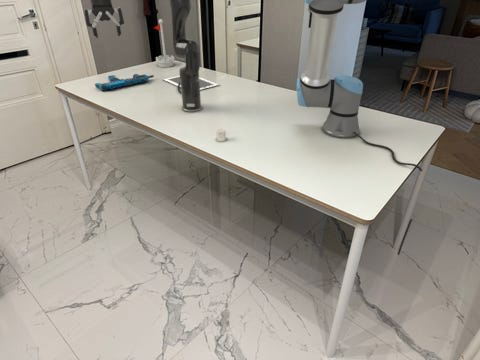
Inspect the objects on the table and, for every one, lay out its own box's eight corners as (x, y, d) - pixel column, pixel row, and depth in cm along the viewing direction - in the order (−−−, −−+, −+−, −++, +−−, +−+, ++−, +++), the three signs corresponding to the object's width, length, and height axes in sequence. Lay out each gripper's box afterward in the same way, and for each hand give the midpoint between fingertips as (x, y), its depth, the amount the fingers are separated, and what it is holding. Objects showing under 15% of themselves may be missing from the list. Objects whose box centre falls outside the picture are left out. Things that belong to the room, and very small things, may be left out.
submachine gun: (139, 68, 225) (158, 74, 208) (140, 74, 226) (158, 80, 210) (87, 78, 206) (103, 86, 189) (89, 84, 208) (104, 92, 191)
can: (223, 142, 141) (223, 132, 139) (215, 140, 142) (215, 131, 140) (227, 138, 144) (226, 129, 142) (218, 137, 145) (218, 128, 143)
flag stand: (173, 62, 250) (168, 17, 234) (176, 66, 240) (172, 20, 223) (155, 63, 246) (149, 18, 230) (158, 68, 236) (152, 21, 219)
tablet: (162, 79, 213) (162, 79, 213) (189, 73, 224) (189, 73, 224) (191, 92, 193) (191, 91, 192) (219, 85, 204) (219, 84, 203)
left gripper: (79, -7, 125) (90, 39, 133) (119, -9, 130) (127, 36, 139) (78, -9, 130) (88, 36, 139) (116, -10, 135) (124, 33, 144)
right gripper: (304, -23, 160) (300, 26, 171) (323, -21, 139) (317, 35, 151) (319, -23, 161) (314, 25, 172) (341, -21, 140) (333, 34, 152)
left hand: (108, 36), depth 139 cm, fingers open, 8 cm apart
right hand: (315, 30), depth 162 cm, fingers open, 13 cm apart
